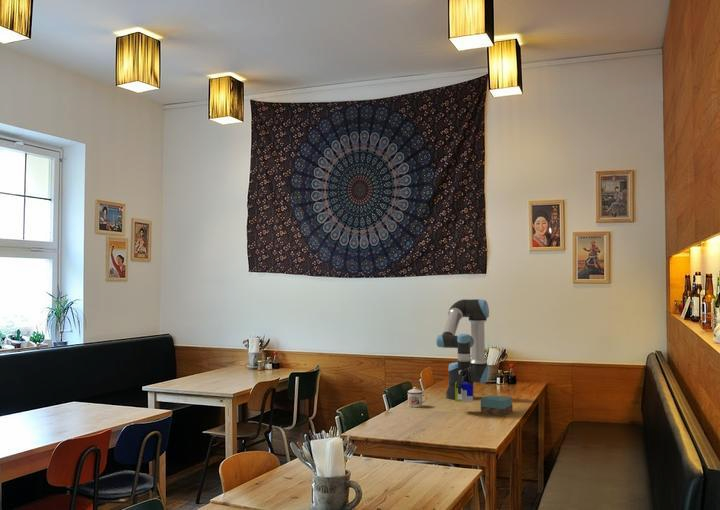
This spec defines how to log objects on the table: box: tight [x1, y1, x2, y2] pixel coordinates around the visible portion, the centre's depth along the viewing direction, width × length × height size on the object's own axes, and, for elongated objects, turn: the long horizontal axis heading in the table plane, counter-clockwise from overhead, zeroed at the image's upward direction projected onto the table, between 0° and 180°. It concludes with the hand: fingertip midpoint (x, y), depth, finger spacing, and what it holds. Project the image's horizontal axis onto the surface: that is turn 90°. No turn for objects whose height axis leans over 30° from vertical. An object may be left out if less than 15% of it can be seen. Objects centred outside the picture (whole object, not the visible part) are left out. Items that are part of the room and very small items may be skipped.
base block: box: [480, 404, 514, 417], centre depth 388 cm, size 14×14×4 cm
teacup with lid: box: [407, 386, 428, 408], centre depth 407 cm, size 12×9×12 cm
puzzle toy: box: [454, 381, 474, 403], centre depth 389 cm, size 10×10×10 cm
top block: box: [480, 394, 513, 409], centre depth 388 cm, size 14×14×4 cm
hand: (464, 397), depth 389 cm, fingers closed on puzzle toy, 12 cm apart
